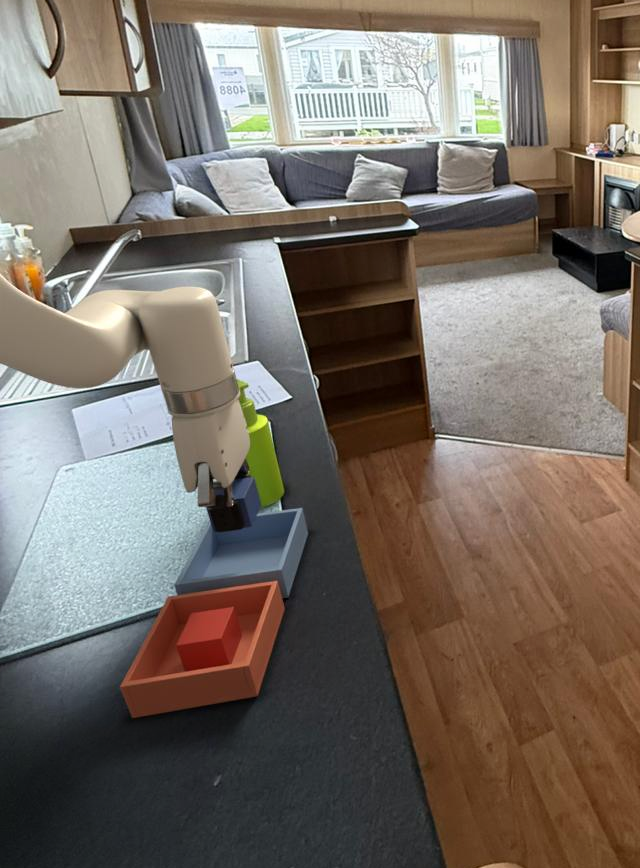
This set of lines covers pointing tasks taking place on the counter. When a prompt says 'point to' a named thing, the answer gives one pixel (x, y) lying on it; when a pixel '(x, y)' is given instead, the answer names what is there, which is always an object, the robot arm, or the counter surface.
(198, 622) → the red block
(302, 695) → the counter surface
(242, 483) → the blue block
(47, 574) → the counter surface
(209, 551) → the blue bin
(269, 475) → the soap dispenser
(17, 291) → the robot arm
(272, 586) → the red bin
